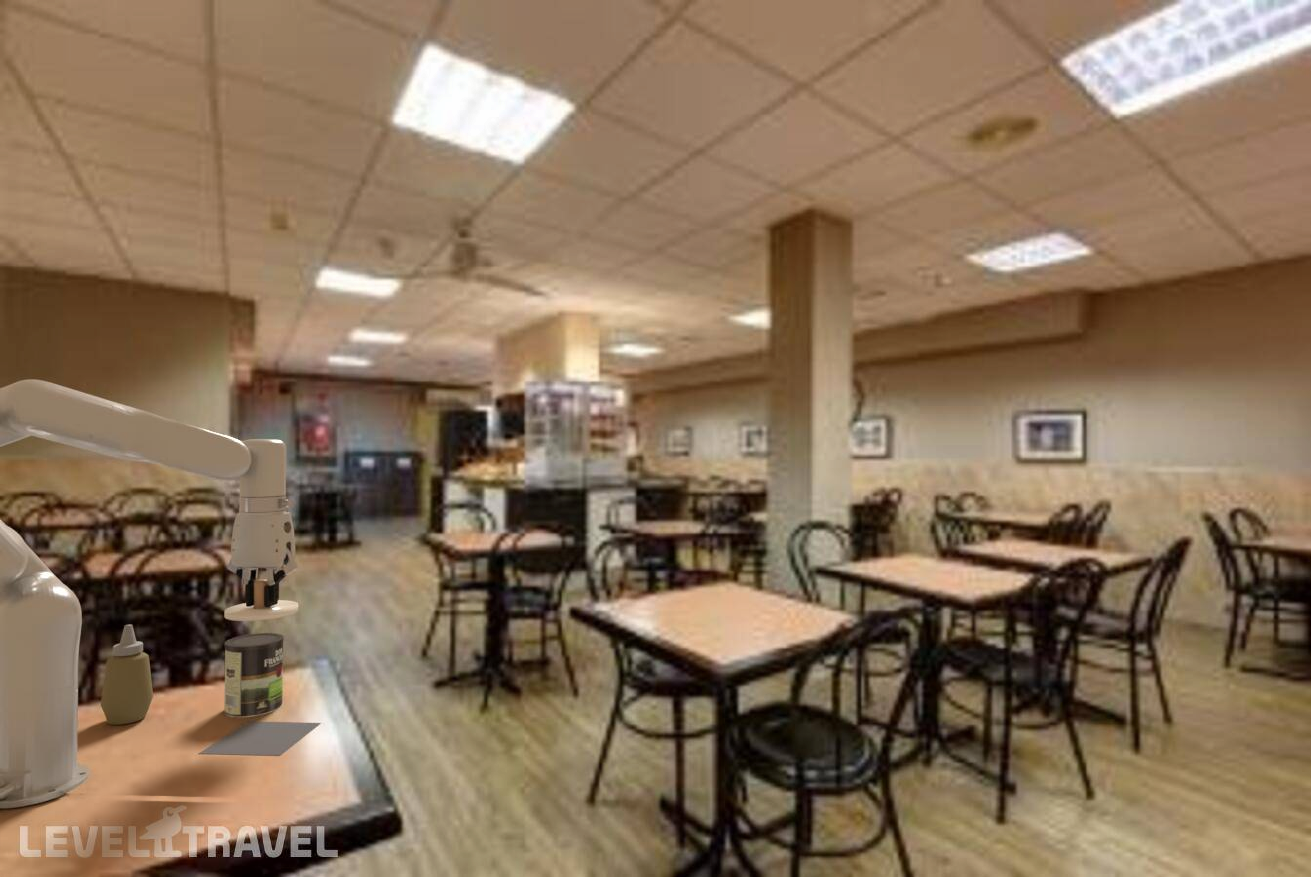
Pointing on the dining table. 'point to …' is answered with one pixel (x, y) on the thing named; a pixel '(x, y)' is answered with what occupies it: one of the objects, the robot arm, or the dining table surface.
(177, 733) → the dining table surface
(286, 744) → the mat
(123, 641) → the squeeze bottle
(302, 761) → the dining table surface
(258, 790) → the dining table surface
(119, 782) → the dining table surface
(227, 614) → the lid
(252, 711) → the coffee can
